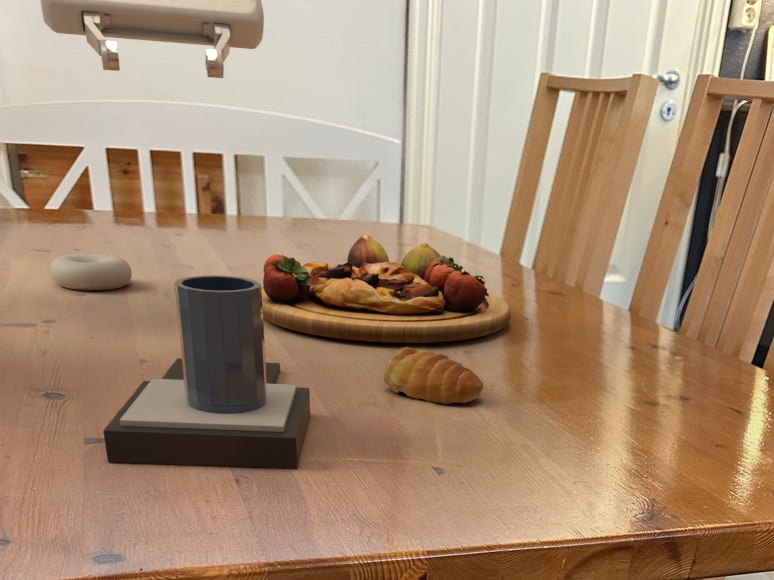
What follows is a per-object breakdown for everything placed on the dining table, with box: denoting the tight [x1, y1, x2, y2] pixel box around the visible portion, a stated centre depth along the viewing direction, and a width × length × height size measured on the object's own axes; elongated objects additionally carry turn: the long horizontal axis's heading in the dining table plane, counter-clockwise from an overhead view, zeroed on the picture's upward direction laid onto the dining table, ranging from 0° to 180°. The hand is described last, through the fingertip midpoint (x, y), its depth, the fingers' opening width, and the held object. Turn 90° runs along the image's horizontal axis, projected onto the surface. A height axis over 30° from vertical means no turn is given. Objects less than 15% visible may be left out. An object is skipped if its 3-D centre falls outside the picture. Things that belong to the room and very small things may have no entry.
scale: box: [102, 378, 311, 469], centre depth 75 cm, size 14×13×3 cm
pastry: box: [383, 346, 484, 405], centre depth 89 cm, size 9×7×4 cm
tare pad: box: [161, 357, 281, 384], centre depth 88 cm, size 10×8×2 cm
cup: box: [174, 274, 267, 414], centre depth 72 cm, size 6×6×9 cm
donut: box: [49, 253, 133, 291], centre depth 121 cm, size 10×4×10 cm
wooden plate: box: [261, 234, 512, 344], centre depth 115 cm, size 32×32×8 cm
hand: (164, 69), depth 87 cm, fingers open, 8 cm apart
